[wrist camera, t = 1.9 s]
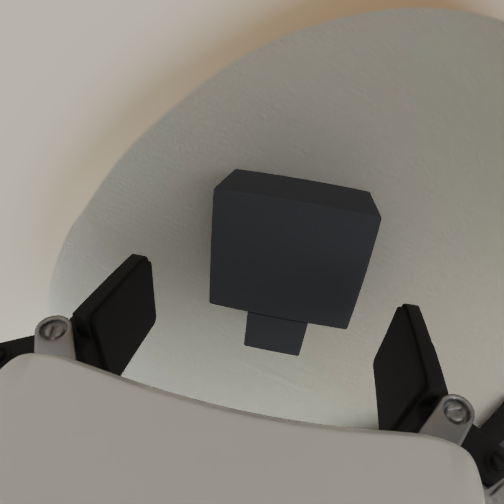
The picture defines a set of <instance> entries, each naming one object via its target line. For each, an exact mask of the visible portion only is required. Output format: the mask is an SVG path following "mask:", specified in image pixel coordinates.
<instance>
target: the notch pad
mask: <svg viewBox="0 0 504 504" xmlns="http://www.w3.org/2000/svg"><path fill="white" fill-rule="evenodd" d="M480 430H481V431H482V432H484V433H485V434H486V435H488V436H489V437H490V438H491V439H493V440H494V441H495V442H496V443H498V444H499V445H500V446H501V447H503V448H504V403H503V404H502V406H501V407H500V408H499V409H498V410H497V411H496V413H495V414H494V415H493V416H492V417H491V418H490V419H489V420H488V421H487V422H486V423H485V424H484V425H483V426H482V427H481V428H480Z"/></svg>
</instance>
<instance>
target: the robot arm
mask: <svg viewBox="0 0 504 504" xmlns="http://www.w3.org/2000/svg"><path fill="white" fill-rule="evenodd" d="M155 320H156V310H155V300H154V289H153V277H152V265H151V262H150V261H148V259H147V257H146V256H141V255H136V254H132V255H130V256H129V257H128V258H127V259H126V260H125V261H124V262H123V263H122V264H121V265H120V266H119V267H118V268H117V269H116V270H115V271H114V272H113V273H112V274H111V275H110V276H109V277H108V278H107V279H106V280H105V281H104V282H103V283H102V284H101V285H100V286H99V287H98V288H97V289H96V290H95V291H94V292H93V293H92V294H91V295H90V296H89V297H88V298H87V299H86V300H85V301H84V302H83V303H82V304H81V305H80V306H79V307H78V308H77V309H76V310H75V311H74V313H73V316H72V317H71V318H70V320H69V319H68V318H66V317H64V316H59V315H58V316H51V317H47V318H45V319H44V320H42V321H41V322H40V323H39V324H38V325H37V327H36V329H35V335H33V336H29V337H25V338H20V339H16V340H12V341H7V342H3V343H0V504H504V448H503V447H501V446H500V445H499V444H498V443H496V442H495V441H494V440H493V439H491V438H490V437H489V436H488V435H486V434H485V433H484V432H482V431H481V430H480V429H479V428H477V427H476V426H475V425H474V424H472V423H473V421H474V417H475V415H474V410H473V407H472V405H471V404H470V403H469V401H468V400H466V399H465V398H464V397H462V396H460V395H456V394H448V391H447V387H446V384H445V380H444V377H443V373H442V370H441V367H440V364H439V360H438V357H437V354H436V351H435V348H434V345H433V344H432V342H431V339H430V336H429V333H428V330H427V327H426V324H425V322H424V319H423V316H422V313H421V311H420V308H419V306H417V305H410V304H403V305H402V307H398V308H397V310H396V312H395V314H394V317H393V319H392V321H391V324H390V326H389V328H388V330H387V333H386V335H385V337H384V339H383V341H382V344H381V346H380V348H379V350H378V352H377V354H376V356H375V359H374V363H373V369H374V378H375V387H376V398H377V409H378V423H379V430H372V429H361V428H351V427H341V426H332V425H323V424H315V423H308V422H301V421H295V420H289V419H283V418H277V417H271V416H266V415H261V414H256V413H251V412H246V411H241V410H237V409H232V408H228V407H223V406H219V405H215V404H211V403H207V402H203V401H199V400H196V399H192V398H188V397H185V396H181V395H178V394H174V393H171V392H167V391H164V390H161V389H157V388H154V387H151V386H148V385H145V384H142V383H139V382H136V381H133V380H130V379H127V378H124V377H121V374H122V372H123V371H124V369H125V368H126V366H127V365H128V363H129V362H130V360H131V358H132V357H133V355H134V354H135V352H136V351H137V349H138V348H139V346H140V345H141V343H142V342H143V340H144V339H145V337H146V336H147V334H148V333H149V331H150V330H151V328H152V327H153V325H154V323H155Z"/></svg>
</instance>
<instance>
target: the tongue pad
mask: <svg viewBox="0 0 504 504" xmlns="http://www.w3.org/2000/svg"><path fill="white" fill-rule="evenodd" d="M380 222H381V216H380V214H379V212H378V209H377V207H376V205H375V203H374V201H373V199H372V196H371V194H370V193H369V192H366V191H361V190H357V189H352V188H347V187H342V186H336V185H331V184H326V183H320V182H315V181H309V180H303V179H298V178H292V177H285V176H279V175H273V174H266V173H259V172H252V171H245V170H238V169H236V170H234V171H233V172H232V173H231V174H230V175H228V176H227V177H226V178H225V179H224V180H223V181H222V182H221V183H220V184H218V185H217V186H216V187H215V188H214V195H213V215H212V237H211V265H210V303H212V304H216V305H221V306H225V307H230V308H235V309H240V310H244V311H248V315H247V324H246V333H245V342H244V345H246V346H250V347H255V348H260V349H265V350H270V351H275V352H280V353H285V354H291V355H296V356H298V355H299V353H300V349H301V346H302V342H303V338H304V335H305V331H306V327H307V324H308V323H312V324H318V325H323V326H329V327H335V328H341V329H347V327H348V324H349V321H350V319H351V316H352V313H353V310H354V307H355V304H356V301H357V298H358V295H359V292H360V289H361V286H362V283H363V280H364V277H365V274H366V271H367V267H368V264H369V261H370V257H371V254H372V251H373V247H374V244H375V240H376V236H377V233H378V229H379V225H380Z"/></svg>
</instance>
